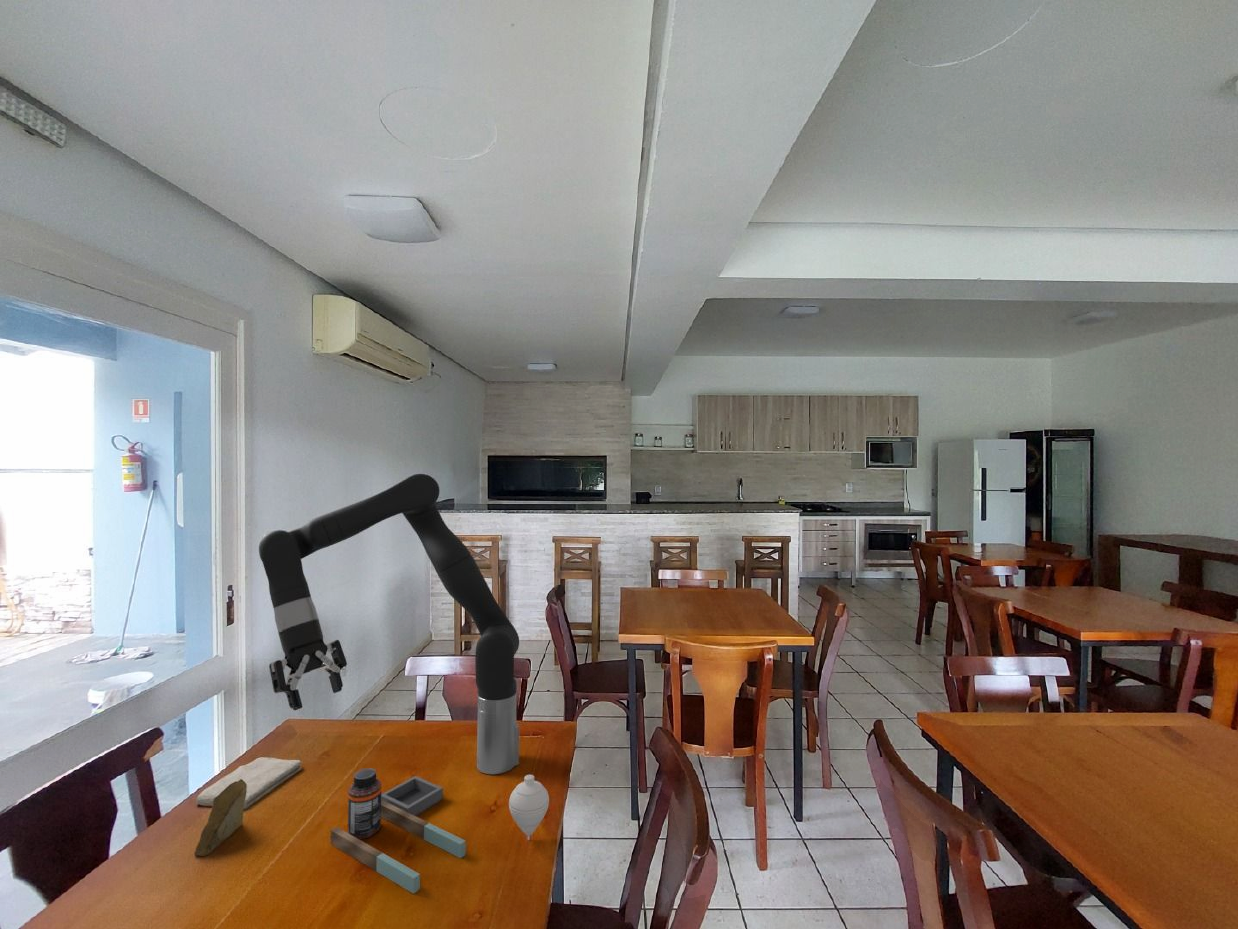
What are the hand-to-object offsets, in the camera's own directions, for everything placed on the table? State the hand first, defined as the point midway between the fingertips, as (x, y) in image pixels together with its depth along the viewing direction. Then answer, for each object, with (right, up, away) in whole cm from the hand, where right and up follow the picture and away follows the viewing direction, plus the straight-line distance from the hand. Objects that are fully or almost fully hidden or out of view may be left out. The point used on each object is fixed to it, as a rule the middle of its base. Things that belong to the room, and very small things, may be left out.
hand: (318, 700), depth 114 cm
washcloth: (-21, -25, +11) cm, 34 cm away
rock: (-16, -24, -7) cm, 29 cm away
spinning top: (+44, -24, -7) cm, 51 cm away
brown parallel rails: (+16, -24, -7) cm, 29 cm away
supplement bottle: (+12, -24, -5) cm, 27 cm away
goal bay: (+26, -24, -14) cm, 38 cm away
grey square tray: (+17, -24, +5) cm, 30 cm away
